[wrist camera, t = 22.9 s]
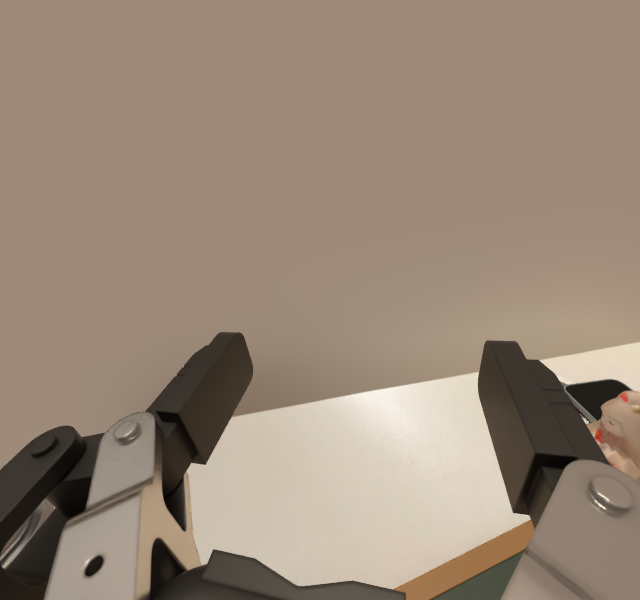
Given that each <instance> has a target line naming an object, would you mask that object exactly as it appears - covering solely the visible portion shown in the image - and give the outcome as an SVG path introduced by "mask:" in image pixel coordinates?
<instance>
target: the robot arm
mask: <svg viewBox="0 0 640 600" xmlns="http://www.w3.org/2000/svg"><path fill="white" fill-rule="evenodd" d="M252 375H253V365H252V361H251V358H250V355H249V351H248V348H247V345H246V342H245V339H244V336H243V335H242V334H241V333H233V332H232V333H231V332H220V333H218V334H217V335H216V337H215V338H214V339H213V340H212V342H211V343H210V344H209V345H208V346H205V347H203V348H202V349H201V350H199V351H198V352H196V353H195V354H194V355H193V356H192V357H191V358H190V359H189V360H188V362H187V363H186V364H185V366H184V368H182V369H181V370H180V371H179V372H178V373H177V376H176V377H174V378H173V379H172V381H171V382H170V383H169V384H168V385H167V387H166V388H165V389H164V390H163V391H162V393H161V394H160V395H159V396H158V397H157V398H156V400H155V401H154V402H153V403H152V404H151V406H150V407H149V408H148V409H147V410H146V411H145V412H138V413H134V414H131V415H128V416H126V417H124V418H123V419H121V420H119V421H118V422H116V423H115V424H114V425H112V426H111V427H110V428H109V429H108V430H107V432H106V433H102V434H96V435H92V436H86V437H81V436H80V435H79V433H78V432H77V431H76V430H75V429H74V428H73V427H71V426H60V427H57V428H54V429H51V430H49V431H47V432H45V433H43V434H41V435H40V436H38V437H37V438H35V439H34V440H32V441H31V442H30V443H29V444H28V445H26V446H25V447H24V448H23V449H22V450H21V451H20V452H19V453H18V454H17V455H16V456H15V457H14V458H13V459H12V460H10V461H9V462H8V463H7V464H6V465H5V466H4V467H3V468H2V469H1V470H0V560H1V559H2V558H3V557H4V556H5V555H6V554H7V553H8V552H9V551H10V550H11V549H12V548H13V547H14V545H15V544H16V543H17V542H18V540H19V539H20V538H21V536H22V535H23V533H24V532H25V530H26V528H27V526H28V524H29V522H30V520H31V517H32V513H33V512H34V511H35V509H36V508H37V507H38V506H39V505H40V504H41V503H42V501H43V500H44V499H45V498H46V499H47V500H48V501H49V502H50V503H51V504H52V505H53V506H55V507H56V508H55V510H54V511H53V512H52V513H51V514H50V516H49V517H48V518H47V519H46V521H45V522H44V523H43V524H42V526H41V527H40V528H39V529H38V530H37V532H36V533H35V534H34V535H33V537H32V538H31V539H30V540H29V542H28V543H27V544H26V545H25V546H24V548H23V549H22V550H21V551H20V553H19V554H18V555H17V556H16V558H15V559H14V560H13V561H12V562H11V564H10V565H9V566H8V567H7V568H6V569H4V568H3V567H2V566H1V565H0V600H406V593H404V592H400V591H396V590H391V589H387V588H382V587H378V586H374V585H369V584H365V583H360V582H356V581H346V582H337V583H329V584H320V585H312V586H297V585H295V584H293V583H291V582H290V581H288V580H287V579H285V578H284V577H282V576H281V575H279V574H278V573H276V572H275V571H273V570H272V569H270V568H269V567H267V566H265V565H264V564H262V563H261V562H259V561H258V560H256V559H254V558H250V557H245V556H241V555H236V554H232V553H228V552H223V551H219V550H214V549H213V552H212V554H211V556H210V559H209V561H208V563H207V564H206V565H202V566H201V562H200V558H199V554H198V551H197V548H196V545H195V542H194V537H193V527H192V514H191V501H190V488H189V477H188V474H187V472H186V471H187V469H188V467H189V466H190V464H191V463H197V464H204V465H206V463H207V461H208V459H209V457H210V455H211V454H212V452H213V450H214V448H215V446H216V444H217V443H218V441H219V439H220V437H221V435H222V433H223V432H224V430H225V428H226V426H227V424H228V422H229V420H230V419H231V417H232V415H233V413H234V411H235V409H236V408H237V406H238V404H239V402H240V400H241V398H242V396H243V395H244V393H245V391H246V389H247V387H248V386H249V384H250V382H251V379H252ZM478 392H479V398H480V402H481V405H482V408H483V412H484V415H485V419H486V422H487V425H488V429H489V432H490V436H491V439H492V442H493V446H494V449H495V453H496V456H497V460H498V463H499V466H500V470H501V473H502V477H503V480H504V483H505V487H506V490H507V494H508V497H509V500H510V504H511V507H512V511H513V513H518V514H525V515H530V518H531V521H532V524H533V527H534V532H533V534H532V537H531V539H530V541H529V543H528V545H527V547H526V549H525V551H524V553H523V555H522V557H521V559H520V561H519V563H518V565H517V567H516V569H515V571H514V573H513V575H512V577H511V579H510V581H509V583H508V585H507V587H506V589H505V591H504V594H503V596H502V598H501V600H640V484H639V483H638V482H637V481H636V480H634V479H633V478H631V477H630V476H629V475H627V474H626V473H624V472H622V471H620V470H619V469H616V468H614V467H612V466H611V464H610V463H609V461H608V460H607V458H606V457H605V455H604V453H603V452H602V450H601V448H600V447H599V445H598V444H597V442H596V440H595V439H594V437H593V435H592V434H591V432H590V430H589V429H588V427H587V426H586V424H585V422H584V421H583V419H582V417H581V416H580V414H579V412H578V411H577V409H576V408H575V406H573V403H572V401H571V399H570V398H569V396H568V394H567V393H565V392H564V388H563V386H562V385H561V383H560V381H559V380H558V378H557V376H556V375H555V373H553V372H552V371H551V370H550V369H549V368H547V367H546V366H545V365H544V364H542V363H541V362H540V361H539V360H527V359H526V358H525V356H524V354H523V352H522V350H521V349H520V346H519V345H518V343H517V342H515V341H486V342H485V345H484V350H483V355H482V360H481V366H480V371H479V377H478Z"/></svg>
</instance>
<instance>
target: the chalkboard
mask: <svg viewBox="0 0 640 600" xmlns="http://www.w3.org/2000/svg"><path fill="white" fill-rule="evenodd" d="M533 532H534V527H533V524H532V521H531V520H529V521H527V522H525V523H523V524H522V525H520V526H518V527H516V528H514V529H512V530H510V531H508V532H506V533H504V534H502V535H500V536H498V537H496V538H494V539H492V540H490V541H488V542H486V543H484V544H482V545H480V546H478V547H476V548H474V549H472V550H470V551H468V552H466V553H464V554H463V555H461V556H459V557H457V558H455V559H453V560H451V561H449V562H447V563H445V564H443V565H441V566H439V567H437V568H435V569H433V570H431V571H429V572H427V573H425V574H423V575H421V576H419V577H417V578H415V579H413V580H411V581H409V582H407V583H405V584H404V585H402V586H400V587H398V588H396V589H394V590H396V591H400V592H404V593H406V600H501V598H502V596H503V594H504V591H505V589H506V587H507V585H508V583H509V581H510V579H511V577H512V575H513V573H514V571H515V569H516V567H517V565H518V563H519V561H520V559H521V557H522V555H523V553H524V551H525V549H526V547H527V545H528V543H529V541H530V539H531V537H532V534H533Z"/></svg>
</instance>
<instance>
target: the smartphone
mask: <svg viewBox="0 0 640 600" xmlns="http://www.w3.org/2000/svg"><path fill="white" fill-rule="evenodd" d="M624 391H633V390H632V389H631V388H629V387H628V386H627V385H625V384H624V383H622V382H620V381H618V380H614V379H605V380H598V381H590V382H583V383H576V384H569V385H566V386H565V387H564V392H565V393H567V394H568V396H569V398H570V399H571V401H572V403H573V405H574V406H575V407H576V408H577V409H578V410H579V411H580V412H581V413H582V414H583V415H584V416H585V417H586V418H587V419H588V420H589V421H590V422H591V423H592V422H596V421H599V419H601V417H602V410H601V406H602V405H603V404H604V403H605V402H607V401H609V400H611V399H614V398H617V397H618V395H619V394H621V393H622V392H624Z"/></svg>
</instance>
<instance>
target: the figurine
mask: <svg viewBox="0 0 640 600" xmlns="http://www.w3.org/2000/svg"><path fill="white" fill-rule="evenodd" d="M601 410H602V417H601V419H599V421H596V422H592V423H589V424H586V426H587V427H588V429H589V430H590V432H591V434H592V435H593V437H594V439H595V440H596V442H597V444H598V445H599V447H600V448H601V450H602V452H603V453H604V455H605V457H606V458H607V460H608V461H609V463H610V464H611V466H612V467H614V468H616V469H619V470H620V471H622V472H624V473H626V474H627V475H629V476H630V477H631V478H633V479H634V480H636V481H637V482H638V483H639V484H640V393H639V392H637V391H624V392H622V393H621V394H619V395H618V397H617V398H614V399H611V400H609V401H607V402H605V403H604V404H603V405H602V406H601Z"/></svg>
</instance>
